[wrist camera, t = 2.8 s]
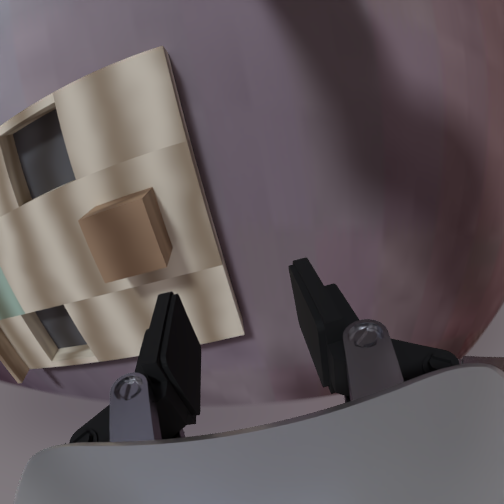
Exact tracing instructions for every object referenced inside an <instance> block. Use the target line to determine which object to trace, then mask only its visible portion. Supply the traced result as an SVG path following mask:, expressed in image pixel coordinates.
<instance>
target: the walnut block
mask: <svg viewBox="0 0 504 504" xmlns="http://www.w3.org/2000/svg"><path fill="white" fill-rule="evenodd" d="M78 222H79V225H80V227H81V230H82V232H83V235H84V237H85V239H86V242H87V244H88V247H89V249H90V251H91V254H92V256H93V258H94V260H95V263H96V265H97V267H98V269H99V271H100V273H101V276H102V278H103V280H104V282H105V283H109V282H113V281H116V280H120V279H124V278H128V277H132V276H136V275H139V274H143V273H147V272H151V271H155V270H159V269H163V268H166V267H167V265H168V262H169V259H170V256H171V252H172V249H173V246H172V243H171V241H170V238H169V235H168V232H167V229H166V226H165V223H164V220H163V217H162V214H161V211H160V208H159V205H158V202H157V199H156V196H155V193H154V190H153V187H151V188H148V189H144V190H141V191H138V192H135V193H132V194H129V195H126V196H123V197H120V198H118V199H115V200H112V201H109V202H106V203H103V204H101V205H98V206H95V207H94V208H93V209H91V210H90V211H89V212H88V213H86V214H85V215H84V216H83V217H82V218H80V219H79V220H78Z"/></svg>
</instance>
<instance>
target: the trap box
mask: <svg viewBox="0 0 504 504" xmlns="http://www.w3.org/2000/svg"><path fill="white" fill-rule="evenodd" d="M151 187H153V190H154V193H155V196H156V199H157V202H158V205H159V208H160V211H161V214H162V217H163V220H164V223H165V226H166V229H167V232H168V235H169V238H170V241H171V243H172V246H173V249H172V252H171V256H170V259H169V262H168V265H167V267H166V268H163V269H159V270H155V271H151V272H147V273H143V274H139V275H136V276H132V277H128V278H124V279H120V280H116V281H113V282H109V283H105V282H104V280H103V278H102V276H101V273H100V271H99V269H98V267H97V265H96V263H95V260H94V258H93V256H92V254H91V251H90V249H89V247H88V244H87V242H86V239H85V237H84V235H83V232H82V230H81V227H80V225H79V222H78V220H79V219H80V218H82V217H83V216H84V215H85V214H86V213H88V212H89V211H90V210H91V209H93V208H94V207H95V206H98V205H101V204H103V203H106V202H109V201H112V200H115V199H118V198H120V197H123V196H126V195H129V194H132V193H135V192H138V191H141V190H144V189H148V188H151ZM171 291H172V292H173V293H174V294H178V295H179V297H180V299H181V301H182V304H183V306H184V308H185V311H186V313H187V316H188V318H189V320H190V322H191V325H192V327H193V329H194V332H195V334H196V336H197V338H198V341H199V343H200V344H205V343H210V342H214V341H219V340H223V339H228V338H232V337H237V336H241V335H245V333H244V326H243V319H242V316H241V312H240V309H239V306H238V303H237V300H236V296H235V293H234V290H233V287H232V283H231V280H230V277H229V274H228V270H227V267H226V264H225V260H224V257H223V254H222V250H221V247H220V244H219V240H218V237H217V233H216V230H215V227H214V223H213V220H212V216H211V213H210V209H209V206H208V202H207V199H206V195H205V192H204V188H203V185H202V181H201V177H200V174H199V170H198V167H197V163H196V159H195V156H194V152H193V148H192V145H191V141H190V137H189V133H188V130H187V126H186V122H185V118H184V114H183V111H182V107H181V103H180V99H179V95H178V91H177V87H176V83H175V79H174V75H173V71H172V67H171V63H170V59H169V55H168V52H167V51H166V50H165V48H164V47H163V46H160V47H157V48H154V49H151V50H148V51H145V52H142V53H140V54H137V55H134V56H131V57H129V58H126V59H124V60H121V61H119V62H116V63H114V64H111V65H109V66H107V67H104V68H102V69H100V70H97V71H95V72H93V73H91V74H89V75H86V76H84V77H82V78H80V79H78V80H76V81H74V82H72V83H70V84H68V85H66V86H64V87H63V88H61V89H59V90H57V91H55V92H53V93H51V94H50V95H48V96H46V97H44V98H43V99H41V100H39V101H38V102H36V103H34V104H33V105H31V106H29V107H28V108H26V109H25V110H23V111H21V112H20V113H18V114H17V115H15V116H14V117H12V118H11V119H9V120H8V121H6V122H5V123H4V124H2V125H1V126H0V360H1V362H2V363H3V364H4V366H5V367H6V368H7V370H8V371H9V372H10V373H11V375H12V376H13V377H14V379H15V380H16V381H17V382H18V383H22V382H23V380H24V378H25V376H26V374H27V372H28V371H29V369H37V368H49V367H59V366H69V365H77V364H86V363H94V362H101V361H108V360H115V359H122V358H129V357H135V356H139V353H140V349H141V345H142V342H143V338H144V334H145V331H146V330H147V329H149V327H150V323H151V319H152V315H153V312H154V308H155V304H156V301H157V297H158V295H159V294H162V293H167V292H171Z"/></svg>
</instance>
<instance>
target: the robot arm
mask: <svg viewBox="0 0 504 504" xmlns="http://www.w3.org/2000/svg"><path fill="white" fill-rule="evenodd" d="M289 273H290V278H291V283H292V288H293V294H294V299H295V305H296V310H297V316H298V321H299V325H300V328H301V330H302V333H303V336H304V338H305V341H306V344H307V346H308V349H309V351H310V354H311V357H312V359H313V362H314V365H315V367H316V370H317V373H318V375H319V378H320V381H321V383H322V386H323V387H327V386H328V387H329V389H330V392H331V394H332V393H339V394H342V395H345V403H344V404H340V405H337V406H334V407H331V408H327V409H324V410H321V411H317V412H314V413H310V414H307V415H303V416H299V417H295V418H291V419H287V420H283V421H279V422H274V423H270V424H265V425H260V426H255V427H250V428H245V429H240V430H234V431H228V432H222V433H215V434H208V435H201V436H192V437H185V434H184V431H183V428H184V427H185V426H186V425H190V424H196V415H200V385H201V346H200V343H199V341H198V338H197V336H196V334H195V332H194V329H193V327H192V325H191V322H190V320H189V318H188V316H187V313H186V311H185V308H184V306H183V304H182V301H181V299H180V297H179V295H178V294H174V293H173V292H172V291H171V292H167V293H162V294H159V295H158V297H157V301H156V304H155V308H154V312H153V315H152V319H151V323H150V327H149V329H147V330H146V331H145V334H144V338H143V342H142V345H141V349H140V353H139V357H138V361H137V365H136V369H135V373H134V372H133V373H128V374H125V375H123V376H121V377H120V378H119V379H117V380H116V381H115V382H114V384H113V385H112V387H111V390H110V405H109V406H107V407H106V408H105V409H103V410H102V411H101V412H100V413H98V414H97V415H96V416H95V417H93V418H92V419H91V420H90V421H88V422H87V423H86V424H85V425H83V426H82V427H81V428H80V429H78V430H77V431H76V432H75V433H74V434H73V436H72V437H71V439H70V443H69V444H66V443H65V444H63V445H57V446H53V447H50V448H47V449H44V450H42V451H40V452H38V453H36V454H35V455H34V456H32V457H31V458H30V460H29V461H28V463H27V465H26V466H25V468H24V471H23V473H22V476H21V478H20V481H19V485H18V487H17V491H16V495H15V499H14V503H13V504H504V357H474V356H463V359H457V358H456V356H455V355H453V354H452V353H451V352H449V351H446V350H442V349H437V348H432V347H427V346H422V345H418V344H413V343H408V342H404V341H399V340H395V339H390V336H389V333H388V330H387V328H386V327H385V326H384V325H383V324H382V323H381V322H378V321H376V320H370V319H364V320H359V319H358V317H357V316H356V314H355V313H354V311H353V310H352V308H351V307H350V305H349V303H348V302H347V300H346V299H345V297H344V296H343V294H342V293H341V291H340V290H339V288H338V287H337V285H336V284H330V285H327V286H324V285H323V283H322V282H321V280H320V278H319V277H318V275H317V273H316V272H315V270H314V268H313V267H312V265H311V264H310V262H309V260H308V259H307V258H302V259H299V260H295V261H293V265H290V266H289Z"/></svg>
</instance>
